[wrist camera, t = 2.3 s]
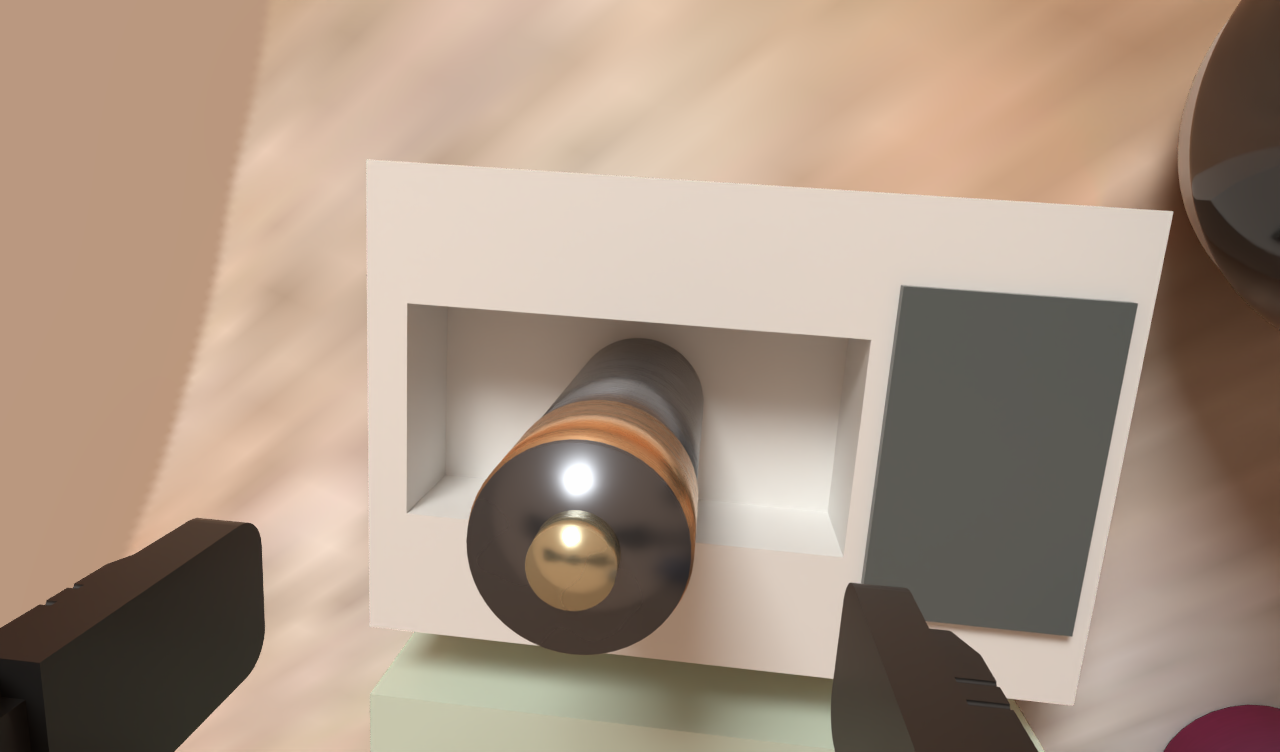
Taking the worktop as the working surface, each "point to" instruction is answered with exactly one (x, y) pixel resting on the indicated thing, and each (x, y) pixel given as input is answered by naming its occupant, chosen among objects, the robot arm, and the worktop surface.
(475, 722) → the trough rack
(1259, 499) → the worktop surface
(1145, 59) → the worktop surface
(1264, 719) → the cup
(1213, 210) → the black tapered dome
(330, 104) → the worktop surface
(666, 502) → the cell
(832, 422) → the battery tester
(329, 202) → the worktop surface
